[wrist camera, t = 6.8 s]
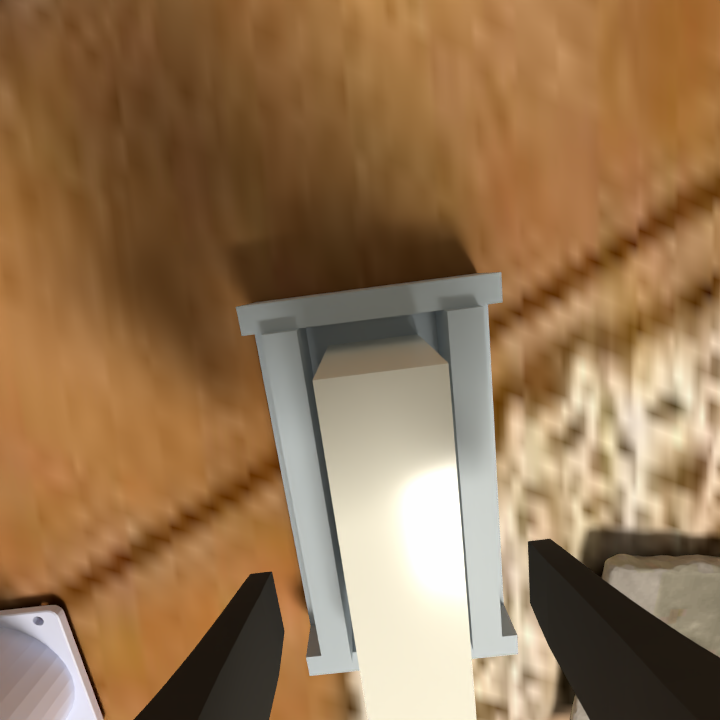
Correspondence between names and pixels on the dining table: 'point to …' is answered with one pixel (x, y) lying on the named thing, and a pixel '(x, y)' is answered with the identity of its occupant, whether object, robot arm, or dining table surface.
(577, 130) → the dining table surface
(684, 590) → the stone
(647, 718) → the robot arm
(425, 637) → the clay bar
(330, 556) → the tray
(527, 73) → the dining table surface
